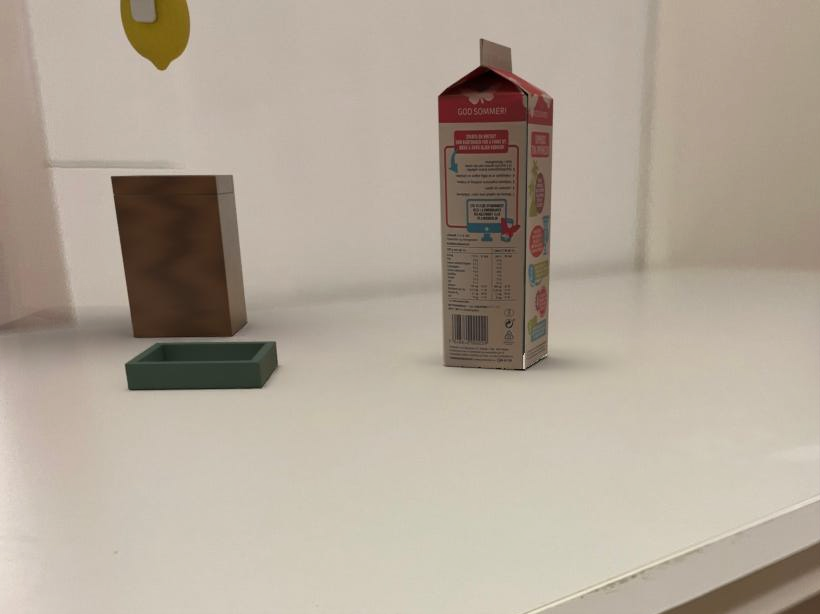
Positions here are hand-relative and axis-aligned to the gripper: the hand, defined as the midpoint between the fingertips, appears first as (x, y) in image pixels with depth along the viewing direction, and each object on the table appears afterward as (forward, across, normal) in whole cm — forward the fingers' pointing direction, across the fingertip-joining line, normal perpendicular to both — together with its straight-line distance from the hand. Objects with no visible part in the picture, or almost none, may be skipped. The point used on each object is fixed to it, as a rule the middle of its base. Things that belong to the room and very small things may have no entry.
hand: (156, 28), depth 85 cm
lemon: (+3, 0, 0) cm, 3 cm away
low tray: (+25, +22, +6) cm, 34 cm away
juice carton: (+25, +17, +28) cm, 41 cm away
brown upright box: (+25, -2, 0) cm, 25 cm away
